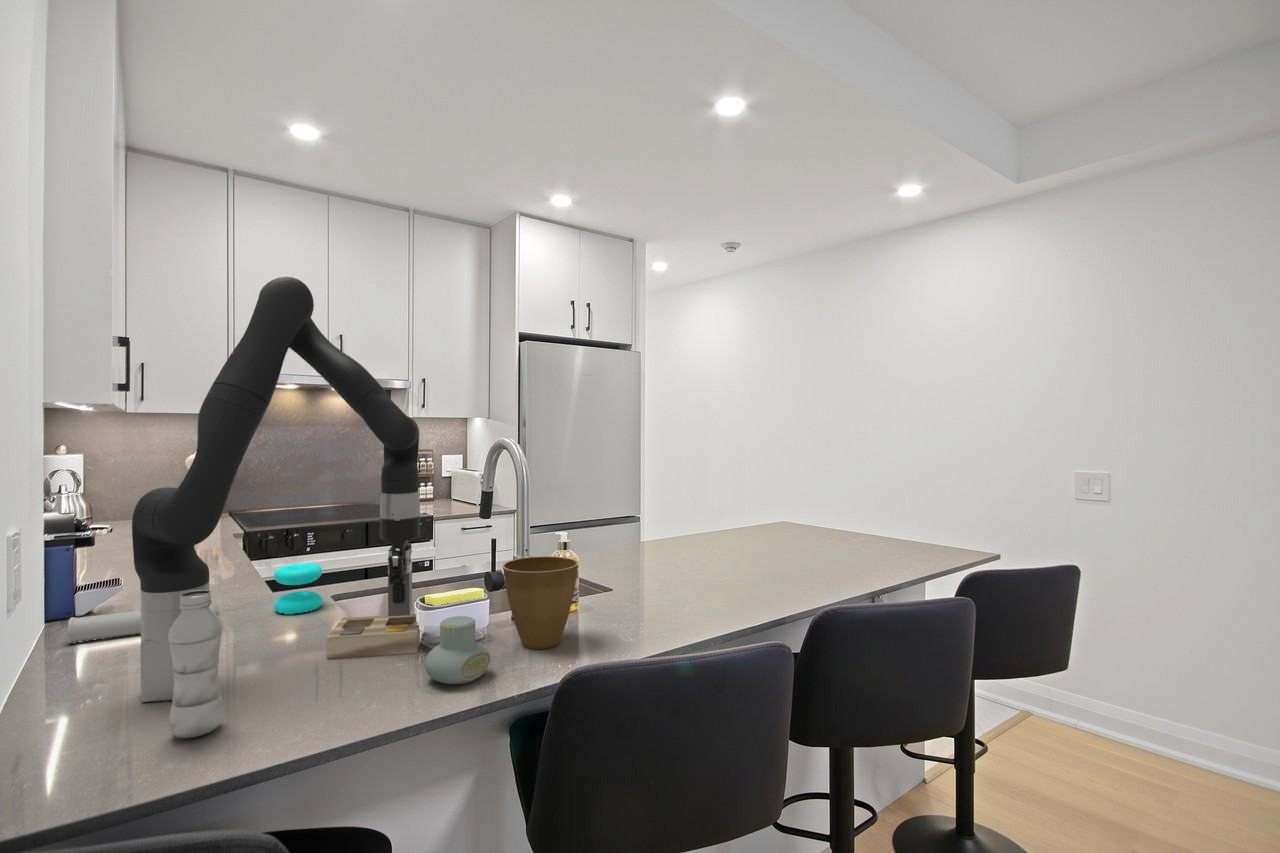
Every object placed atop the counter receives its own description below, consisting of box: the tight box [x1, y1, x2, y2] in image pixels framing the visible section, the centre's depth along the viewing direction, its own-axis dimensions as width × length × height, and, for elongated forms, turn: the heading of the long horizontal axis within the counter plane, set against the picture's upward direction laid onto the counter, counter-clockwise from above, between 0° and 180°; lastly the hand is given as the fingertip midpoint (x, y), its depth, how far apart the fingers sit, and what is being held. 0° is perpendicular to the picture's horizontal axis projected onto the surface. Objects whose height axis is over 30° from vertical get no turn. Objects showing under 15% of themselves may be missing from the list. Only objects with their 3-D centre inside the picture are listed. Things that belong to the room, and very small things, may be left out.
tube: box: [66, 602, 220, 644], centre depth 137 cm, size 5×5×25 cm
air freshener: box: [424, 615, 491, 685], centre depth 113 cm, size 11×8×10 cm
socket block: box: [326, 613, 421, 660], centre depth 129 cm, size 12×16×4 cm
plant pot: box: [502, 555, 579, 650], centre depth 131 cm, size 15×15×16 cm
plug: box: [387, 560, 413, 616], centre depth 132 cm, size 4×4×10 cm
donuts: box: [273, 562, 323, 615], centre depth 153 cm, size 10×10×10 cm
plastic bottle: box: [168, 589, 225, 739], centre depth 93 cm, size 6×7×20 cm
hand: (400, 599), depth 132 cm, fingers closed on plug, 4 cm apart
